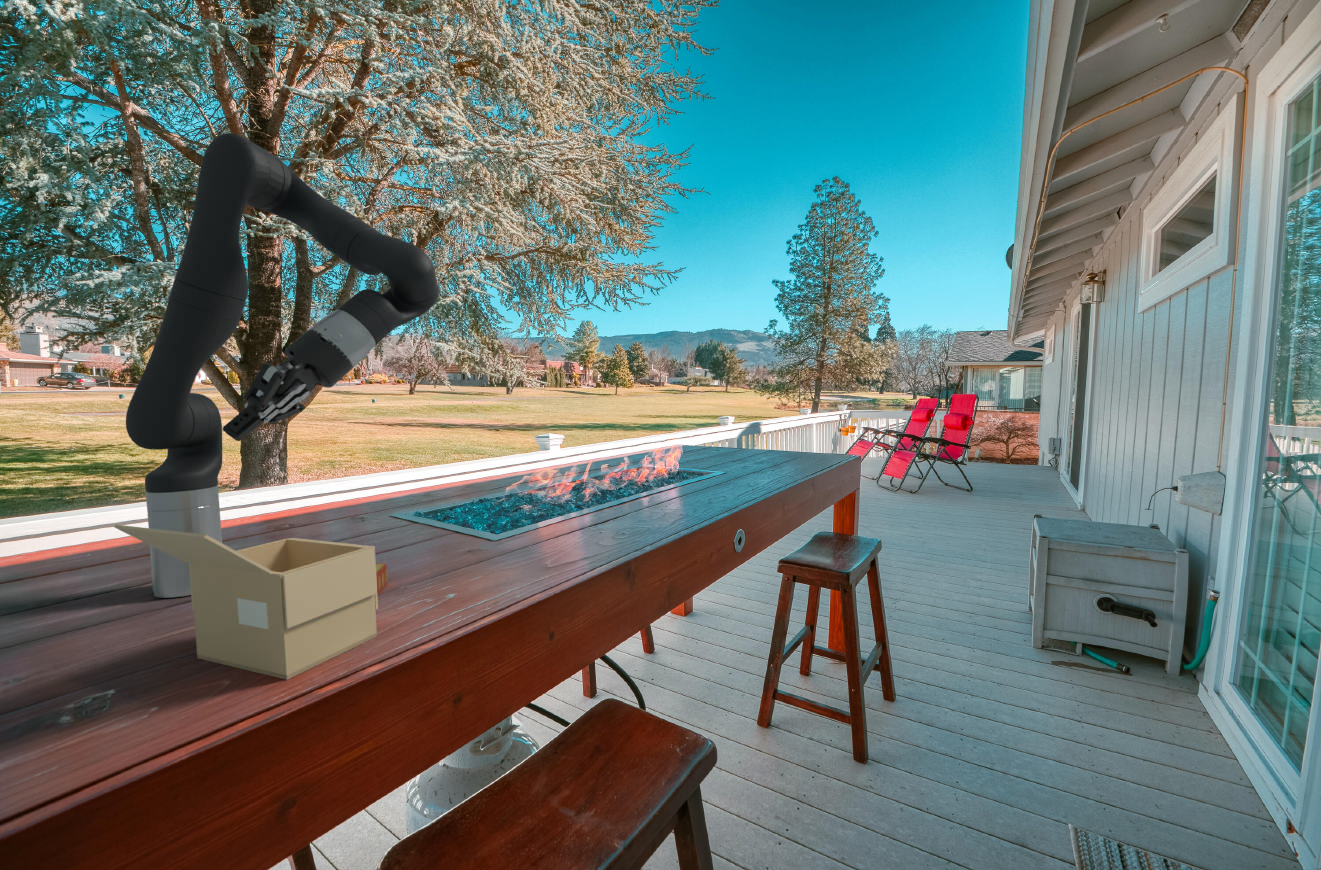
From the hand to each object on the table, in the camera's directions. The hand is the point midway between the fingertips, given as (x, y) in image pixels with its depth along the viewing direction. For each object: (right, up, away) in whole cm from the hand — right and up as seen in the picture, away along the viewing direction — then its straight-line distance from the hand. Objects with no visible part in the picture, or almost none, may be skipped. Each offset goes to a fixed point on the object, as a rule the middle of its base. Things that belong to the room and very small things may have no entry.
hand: (230, 435), depth 73 cm
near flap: (+5, -12, -12) cm, 18 cm away
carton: (+3, -27, +17) cm, 31 cm away
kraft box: (+9, -27, -2) cm, 28 cm away
